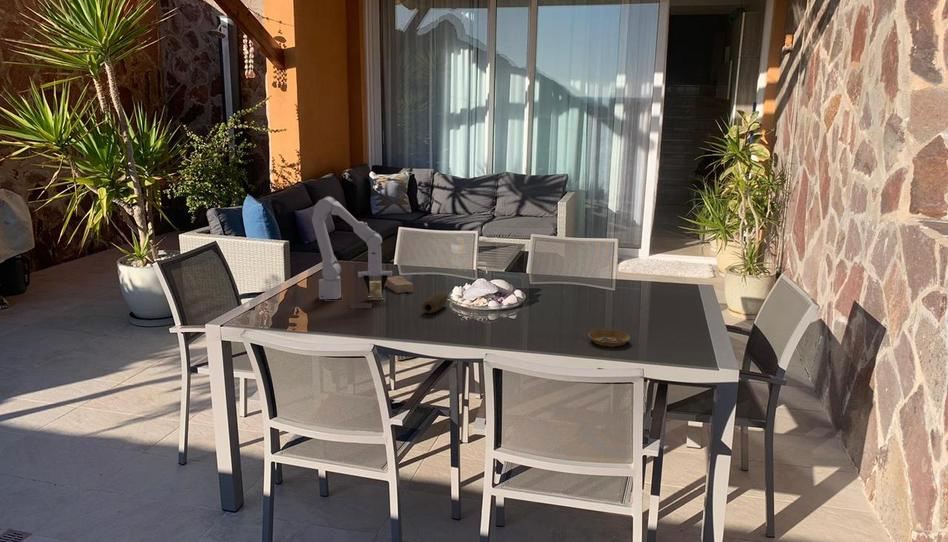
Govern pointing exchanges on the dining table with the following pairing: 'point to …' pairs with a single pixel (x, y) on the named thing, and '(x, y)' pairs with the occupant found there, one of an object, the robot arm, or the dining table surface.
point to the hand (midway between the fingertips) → (375, 292)
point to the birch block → (375, 289)
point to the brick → (399, 284)
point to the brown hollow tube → (434, 302)
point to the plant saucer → (610, 334)
